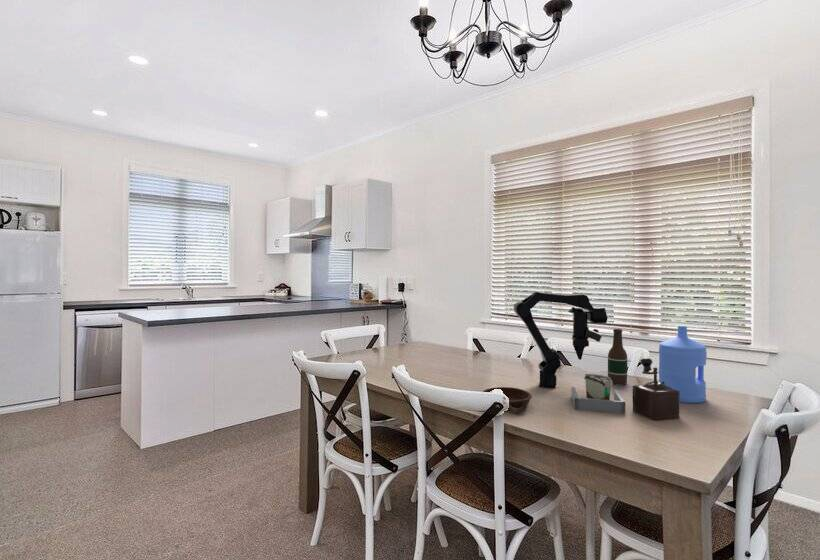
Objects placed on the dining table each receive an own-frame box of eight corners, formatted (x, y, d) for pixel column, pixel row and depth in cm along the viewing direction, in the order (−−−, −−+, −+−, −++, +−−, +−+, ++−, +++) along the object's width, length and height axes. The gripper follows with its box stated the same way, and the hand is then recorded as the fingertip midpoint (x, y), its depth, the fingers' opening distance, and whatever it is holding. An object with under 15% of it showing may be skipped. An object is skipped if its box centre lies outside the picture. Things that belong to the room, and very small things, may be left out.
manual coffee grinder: (682, 418, 140) (683, 365, 140) (654, 421, 138) (655, 367, 138) (646, 404, 156) (647, 356, 155) (621, 406, 153) (621, 357, 153)
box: (574, 409, 150) (575, 398, 150) (571, 396, 165) (571, 386, 164) (625, 413, 145) (625, 402, 145) (617, 400, 160) (617, 390, 160)
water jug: (664, 402, 158) (665, 328, 157) (653, 390, 173) (654, 323, 172) (712, 405, 153) (713, 330, 153) (697, 393, 168) (698, 324, 168)
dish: (514, 396, 167) (514, 383, 167) (544, 414, 145) (544, 400, 145) (473, 399, 163) (473, 386, 163) (497, 418, 142) (497, 404, 141)
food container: (620, 408, 151) (620, 380, 151) (605, 409, 150) (606, 382, 149) (597, 398, 163) (598, 372, 163) (584, 399, 162) (584, 373, 161)
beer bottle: (631, 384, 183) (631, 329, 182) (618, 385, 180) (618, 330, 180) (616, 379, 190) (617, 327, 190) (603, 381, 187) (604, 328, 187)
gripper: (602, 326, 167) (602, 365, 168) (599, 321, 185) (598, 356, 185) (572, 325, 171) (572, 363, 172) (572, 320, 189) (572, 354, 189)
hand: (579, 359), depth 179 cm, fingers closed
